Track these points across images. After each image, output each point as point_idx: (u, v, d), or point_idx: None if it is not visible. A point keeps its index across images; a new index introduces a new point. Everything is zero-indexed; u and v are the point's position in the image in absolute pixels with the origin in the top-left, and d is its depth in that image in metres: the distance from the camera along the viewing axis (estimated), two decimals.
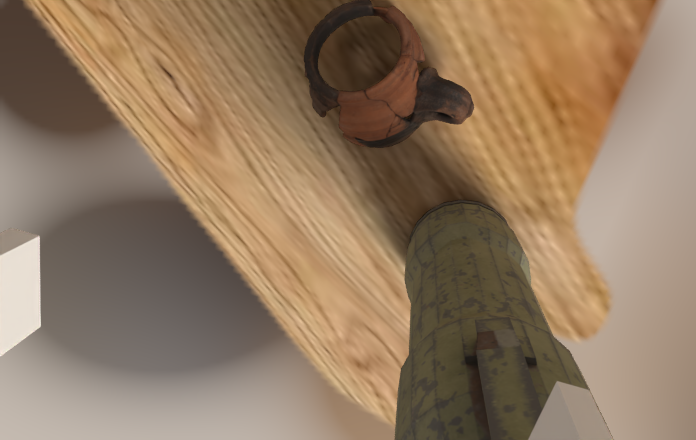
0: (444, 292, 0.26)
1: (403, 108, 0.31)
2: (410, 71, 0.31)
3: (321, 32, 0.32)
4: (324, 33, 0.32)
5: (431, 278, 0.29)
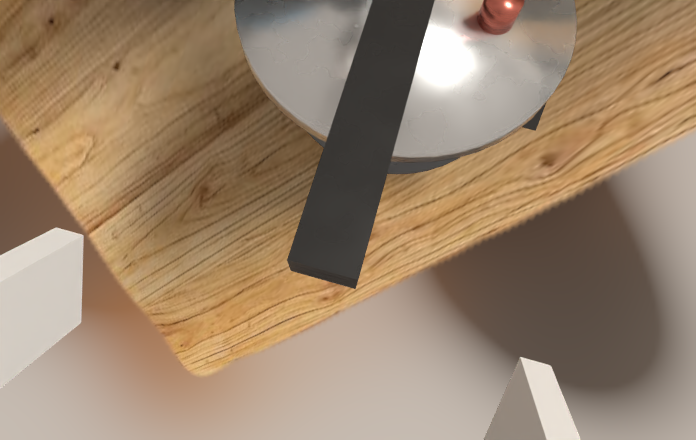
0: None
1: None
2: None
3: None
4: None
5: None
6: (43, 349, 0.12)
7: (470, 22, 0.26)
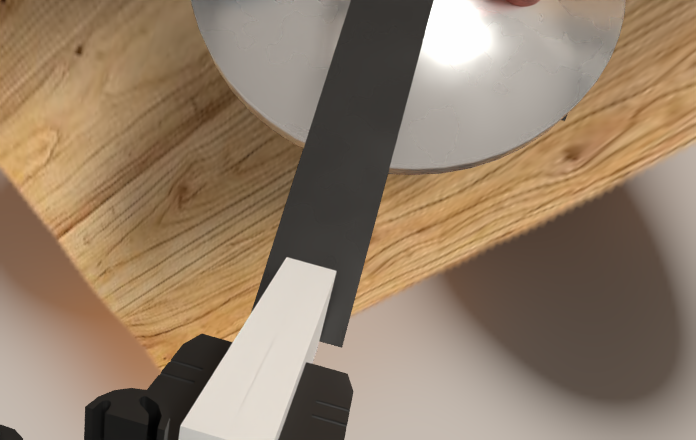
0: None
1: None
2: None
3: None
4: None
5: None
6: None
7: None
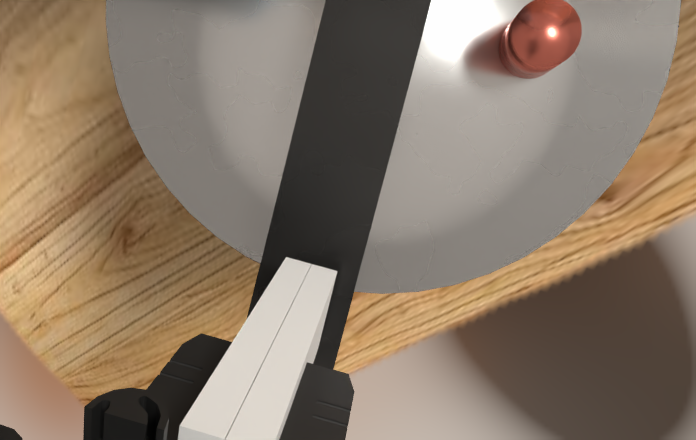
0: None
1: None
2: None
3: None
4: None
5: None
6: None
7: (486, 56, 0.16)
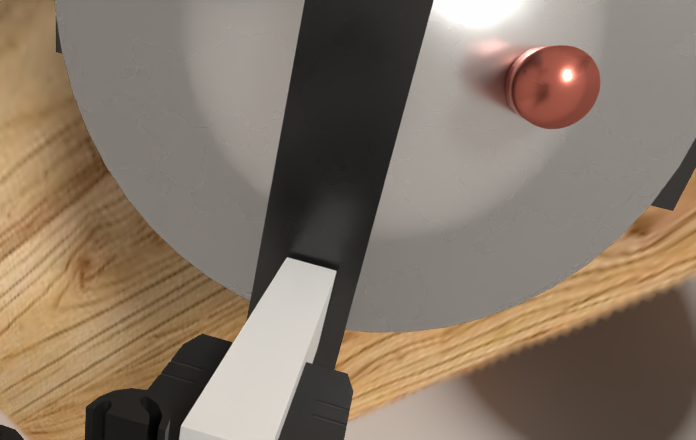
0: None
1: None
2: None
3: None
4: None
5: None
6: None
7: (489, 94, 0.14)
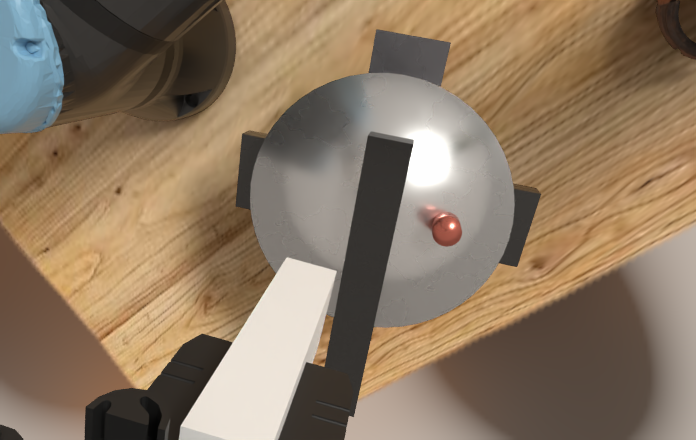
0: None
1: None
2: None
3: (695, 46, 0.36)
4: (695, 43, 0.36)
5: None
6: None
7: (426, 229, 0.34)
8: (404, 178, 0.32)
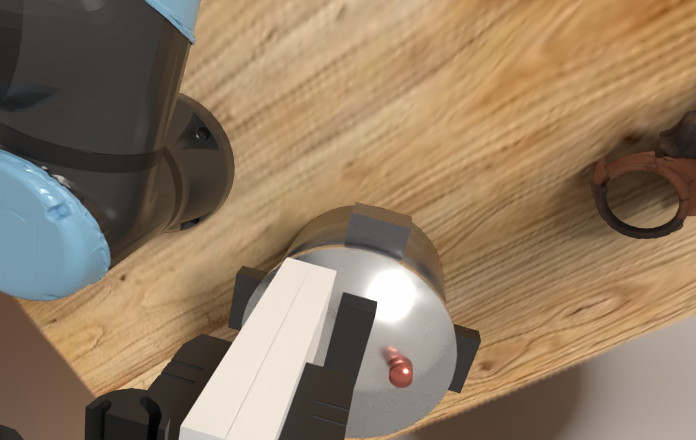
0: None
1: (695, 168, 0.40)
2: (666, 164, 0.40)
3: (618, 224, 0.44)
4: (618, 221, 0.44)
5: None
6: None
7: (385, 367, 0.42)
8: (367, 337, 0.39)
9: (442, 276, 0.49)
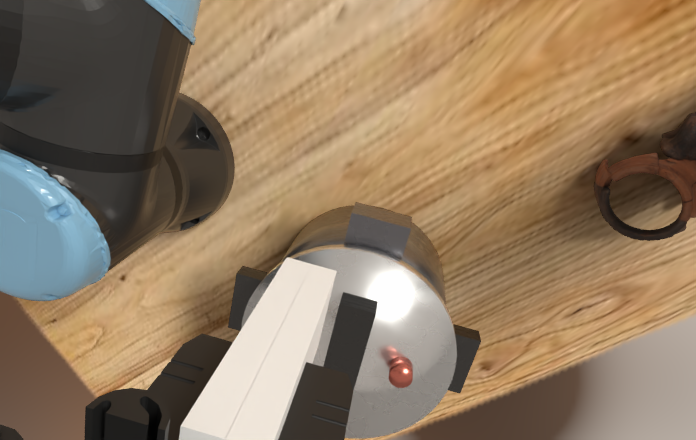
0: None
1: None
2: (669, 165, 0.40)
3: (621, 226, 0.44)
4: (621, 223, 0.44)
5: None
6: None
7: (385, 367, 0.42)
8: (367, 337, 0.39)
9: (442, 276, 0.49)
